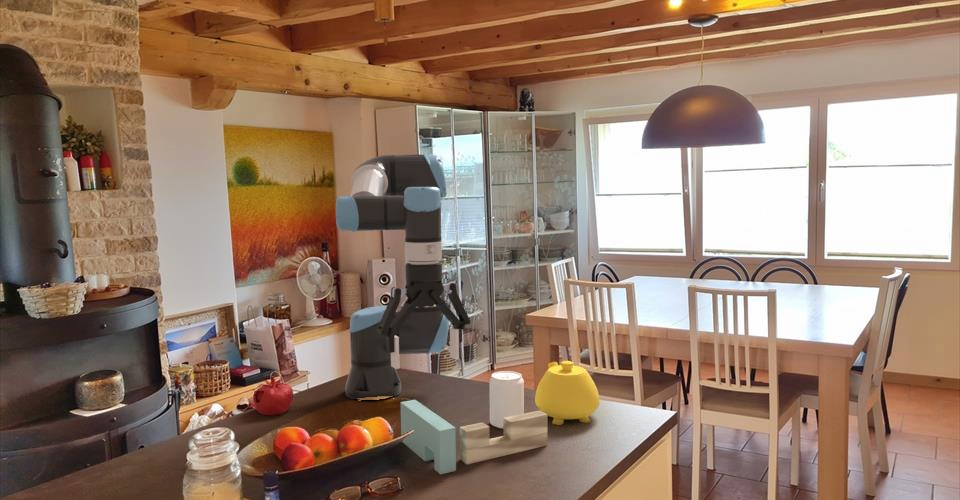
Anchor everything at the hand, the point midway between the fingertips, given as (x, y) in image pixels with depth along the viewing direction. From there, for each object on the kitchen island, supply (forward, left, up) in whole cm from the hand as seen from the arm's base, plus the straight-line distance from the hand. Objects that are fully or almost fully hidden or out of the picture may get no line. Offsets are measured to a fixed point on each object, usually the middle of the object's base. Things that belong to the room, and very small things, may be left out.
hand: (425, 362), depth 145 cm
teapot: (-6, +40, -20) cm, 45 cm away
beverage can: (-7, +24, -20) cm, 32 cm away
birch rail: (+7, +15, -20) cm, 26 cm away
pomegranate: (-45, -22, -20) cm, 54 cm away
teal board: (0, 0, -20) cm, 20 cm away
